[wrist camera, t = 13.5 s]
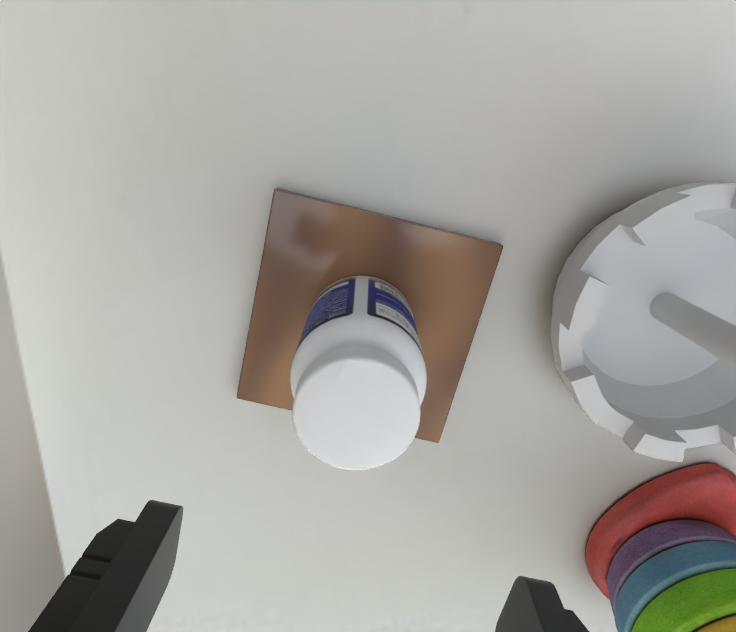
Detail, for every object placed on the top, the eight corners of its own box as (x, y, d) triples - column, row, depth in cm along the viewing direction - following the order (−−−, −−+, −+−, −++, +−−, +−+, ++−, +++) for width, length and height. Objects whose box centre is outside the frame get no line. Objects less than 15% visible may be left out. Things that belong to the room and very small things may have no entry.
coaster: (238, 393, 30) (236, 398, 30) (276, 187, 26) (274, 188, 26) (437, 437, 31) (438, 443, 30) (501, 243, 27) (503, 245, 27)
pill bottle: (313, 374, 29) (283, 486, 20) (304, 275, 27) (266, 346, 18) (415, 370, 29) (435, 481, 19) (413, 270, 27) (434, 339, 18)
